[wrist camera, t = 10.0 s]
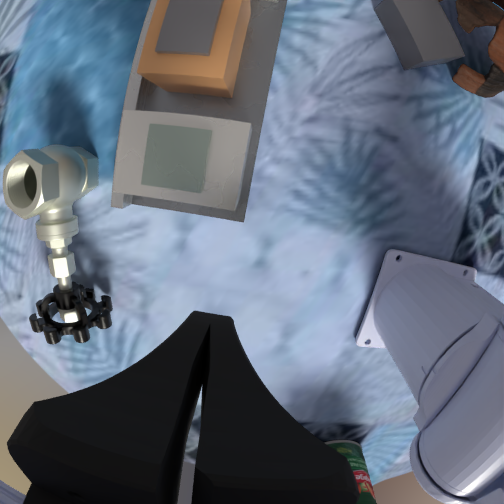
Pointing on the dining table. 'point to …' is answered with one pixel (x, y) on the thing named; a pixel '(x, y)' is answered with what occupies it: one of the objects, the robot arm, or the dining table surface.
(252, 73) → the rail plate
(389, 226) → the dining table surface
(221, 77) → the orange module
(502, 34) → the knobbed brown ring
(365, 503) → the canned tomato
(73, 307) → the valve
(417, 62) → the dark gray block
